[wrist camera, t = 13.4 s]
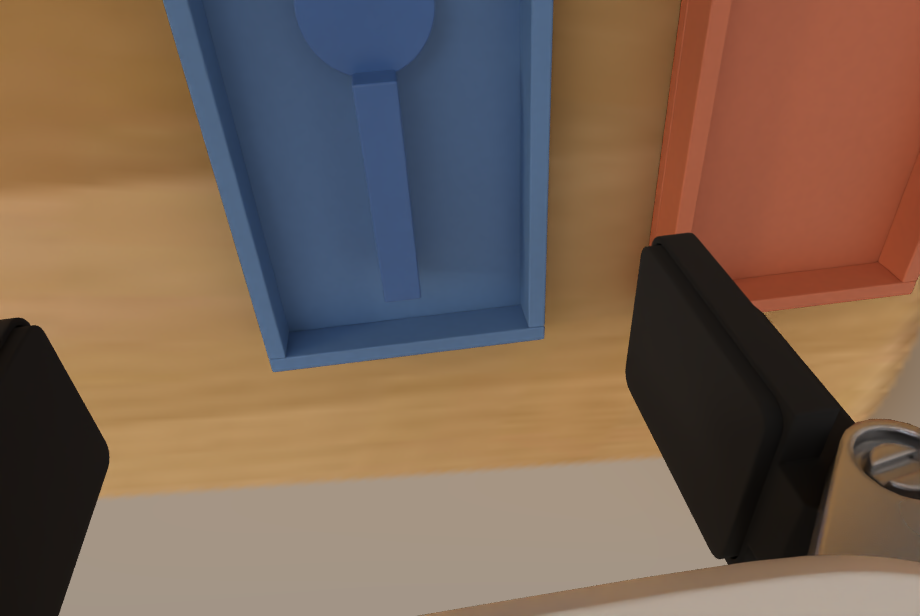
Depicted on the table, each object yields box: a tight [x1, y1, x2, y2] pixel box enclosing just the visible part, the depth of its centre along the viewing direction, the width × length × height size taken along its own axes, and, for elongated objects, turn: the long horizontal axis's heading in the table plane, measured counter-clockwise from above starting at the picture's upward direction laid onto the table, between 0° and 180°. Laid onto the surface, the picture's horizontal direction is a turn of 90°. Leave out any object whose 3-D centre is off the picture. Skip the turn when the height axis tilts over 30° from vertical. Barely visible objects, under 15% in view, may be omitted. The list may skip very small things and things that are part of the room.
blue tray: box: [163, 0, 553, 372], centre depth 20 cm, size 16×10×2 cm, turn 3°
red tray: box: [649, 0, 920, 312], centre depth 21 cm, size 16×10×2 cm, turn 3°
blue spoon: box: [294, 0, 435, 303], centre depth 19 cm, size 10×4×2 cm, turn 3°
